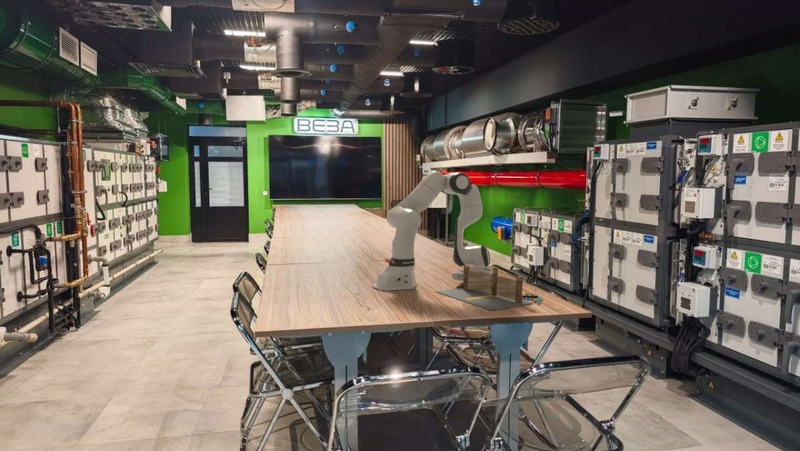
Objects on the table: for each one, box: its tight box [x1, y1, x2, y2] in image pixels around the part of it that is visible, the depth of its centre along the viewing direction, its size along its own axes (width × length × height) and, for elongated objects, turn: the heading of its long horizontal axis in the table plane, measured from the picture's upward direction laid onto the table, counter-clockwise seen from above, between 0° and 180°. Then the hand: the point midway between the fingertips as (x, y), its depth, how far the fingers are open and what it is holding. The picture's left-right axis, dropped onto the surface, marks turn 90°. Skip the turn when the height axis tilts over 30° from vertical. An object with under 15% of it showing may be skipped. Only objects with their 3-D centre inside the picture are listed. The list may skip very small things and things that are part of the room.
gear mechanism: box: [522, 289, 544, 305], centre depth 238 cm, size 20×5×9 cm
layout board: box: [435, 287, 534, 312], centre depth 239 cm, size 24×39×1 cm, turn 32°
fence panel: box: [462, 265, 493, 293], centre depth 247 cm, size 2×15×11 cm, turn 50°
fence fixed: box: [492, 267, 524, 303], centre depth 235 cm, size 2×18×13 cm, turn 33°
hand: (468, 279), depth 252 cm, fingers closed
